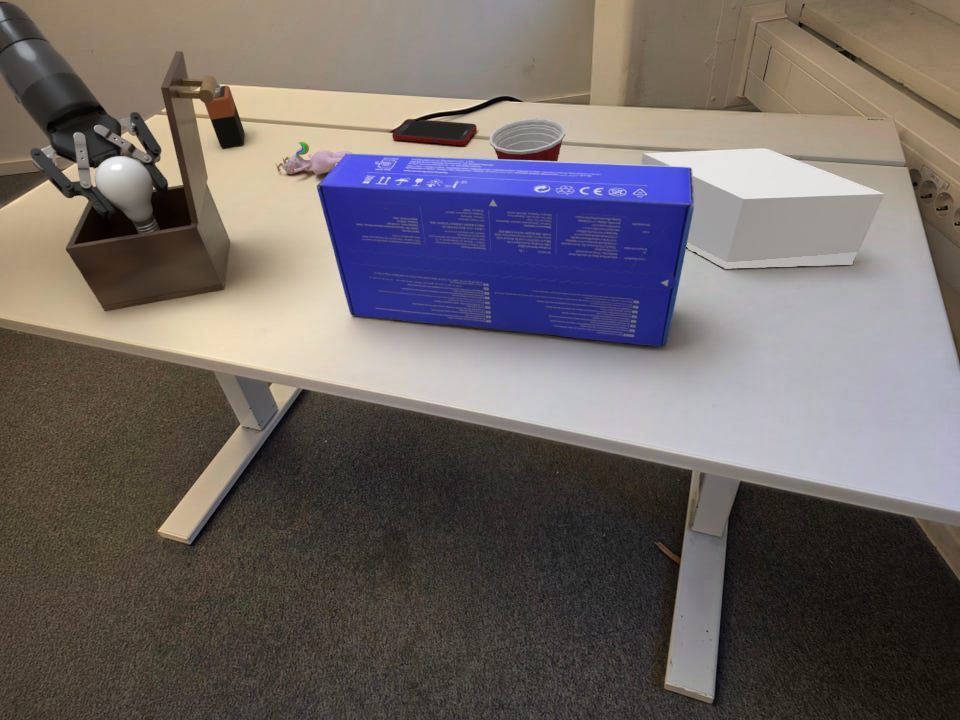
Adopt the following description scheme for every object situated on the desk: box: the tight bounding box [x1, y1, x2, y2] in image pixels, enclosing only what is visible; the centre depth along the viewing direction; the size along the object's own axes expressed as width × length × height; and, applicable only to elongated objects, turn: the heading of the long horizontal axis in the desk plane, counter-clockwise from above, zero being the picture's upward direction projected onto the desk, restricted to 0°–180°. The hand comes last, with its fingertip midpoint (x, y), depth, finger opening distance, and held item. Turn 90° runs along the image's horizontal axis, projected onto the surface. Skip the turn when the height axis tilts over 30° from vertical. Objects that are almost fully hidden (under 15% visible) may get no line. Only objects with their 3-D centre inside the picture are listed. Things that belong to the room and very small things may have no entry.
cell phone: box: [391, 118, 477, 146], centre depth 114 cm, size 8×15×1 cm, turn 72°
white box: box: [640, 147, 885, 262], centre depth 80 cm, size 14×29×10 cm, turn 62°
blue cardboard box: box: [316, 153, 694, 347], centre depth 69 cm, size 39×8×18 cm, turn 77°
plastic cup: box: [489, 118, 567, 162], centre depth 89 cm, size 11×11×12 cm
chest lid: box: [160, 50, 218, 224], centre depth 75 cm, size 16×13×5 cm
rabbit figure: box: [275, 141, 354, 175], centre depth 104 cm, size 6×6×15 cm
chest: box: [65, 183, 231, 312], centre depth 83 cm, size 16×13×10 cm
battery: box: [204, 83, 245, 149], centre depth 114 cm, size 4×7×10 cm, turn 15°
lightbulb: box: [94, 156, 160, 234], centre depth 78 cm, size 6×6×11 cm
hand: (139, 203), depth 77 cm, fingers closed on lightbulb, 6 cm apart
